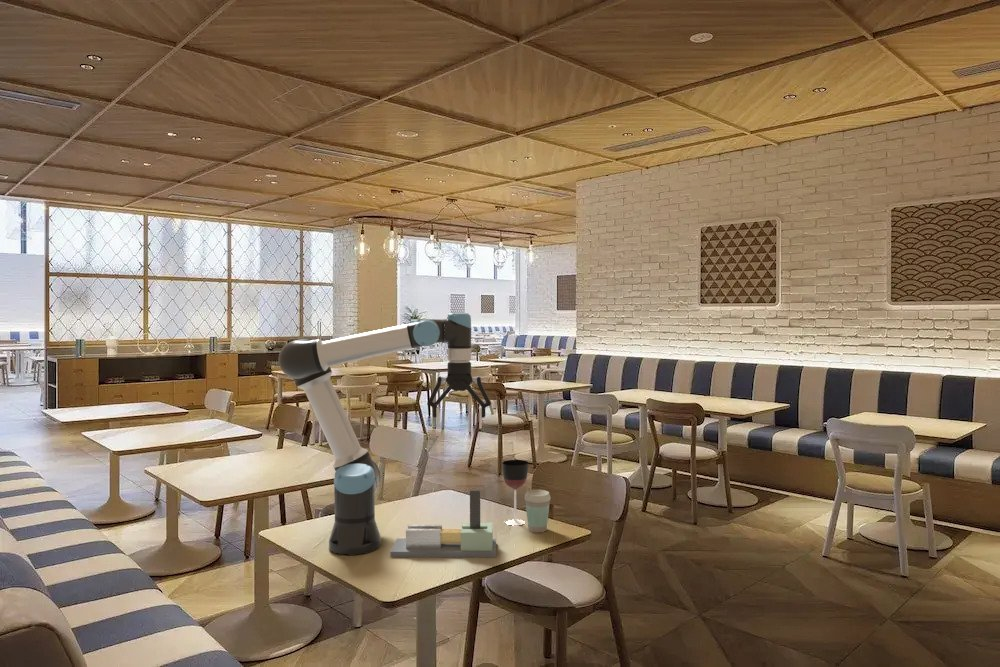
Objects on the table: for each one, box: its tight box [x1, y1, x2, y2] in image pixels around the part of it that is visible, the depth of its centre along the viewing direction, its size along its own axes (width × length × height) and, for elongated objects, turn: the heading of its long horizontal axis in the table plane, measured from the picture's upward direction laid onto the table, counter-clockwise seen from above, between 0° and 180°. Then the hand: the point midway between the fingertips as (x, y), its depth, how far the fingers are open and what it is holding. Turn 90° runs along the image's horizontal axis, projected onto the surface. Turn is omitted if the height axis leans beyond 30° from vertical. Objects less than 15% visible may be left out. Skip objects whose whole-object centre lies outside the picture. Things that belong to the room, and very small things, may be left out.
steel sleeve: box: [405, 524, 443, 548], centre depth 195 cm, size 10×5×5 cm, turn 90°
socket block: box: [460, 522, 494, 551], centre depth 195 cm, size 9×9×5 cm
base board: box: [389, 537, 497, 558], centre depth 195 cm, size 30×11×2 cm, turn 90°
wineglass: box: [501, 459, 529, 527], centre depth 220 cm, size 8×9×20 cm
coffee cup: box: [523, 489, 551, 533], centre depth 213 cm, size 9×8×12 cm
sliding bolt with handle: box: [441, 489, 481, 544], centre depth 195 cm, size 14×3×15 cm, turn 90°
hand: (459, 427), depth 213 cm, fingers open, 13 cm apart
